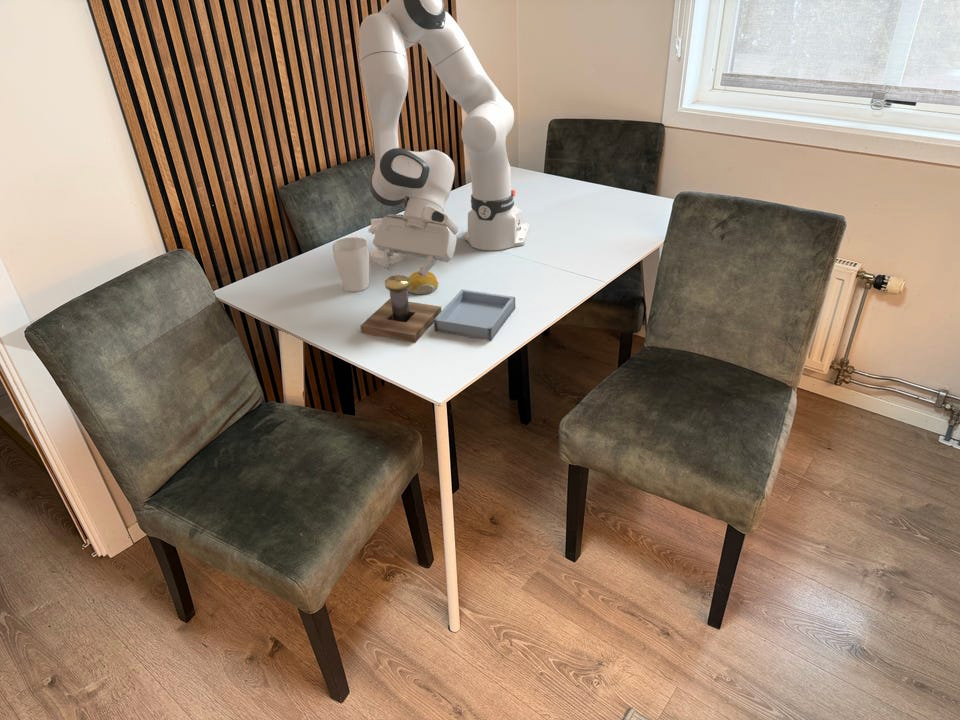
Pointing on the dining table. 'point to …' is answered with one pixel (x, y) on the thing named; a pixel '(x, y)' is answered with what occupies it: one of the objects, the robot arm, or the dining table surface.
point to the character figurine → (378, 254)
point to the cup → (352, 263)
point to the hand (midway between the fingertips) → (404, 272)
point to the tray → (475, 314)
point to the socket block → (405, 331)
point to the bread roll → (422, 283)
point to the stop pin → (399, 297)
